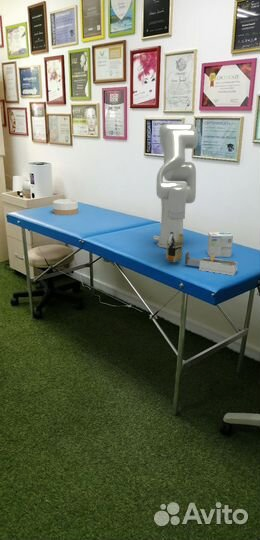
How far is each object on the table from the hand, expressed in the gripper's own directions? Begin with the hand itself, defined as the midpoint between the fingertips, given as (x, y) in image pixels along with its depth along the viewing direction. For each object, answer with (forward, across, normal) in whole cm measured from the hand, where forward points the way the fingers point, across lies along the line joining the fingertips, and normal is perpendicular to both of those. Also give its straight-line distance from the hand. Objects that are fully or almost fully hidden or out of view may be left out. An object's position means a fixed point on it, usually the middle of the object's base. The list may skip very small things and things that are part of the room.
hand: (174, 252), depth 182 cm
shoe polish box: (+3, 0, 0) cm, 3 cm away
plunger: (+3, +1, +12) cm, 13 cm away
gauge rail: (+4, +1, +20) cm, 21 cm away
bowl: (+10, -70, -103) cm, 125 cm away
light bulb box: (+6, -21, +16) cm, 27 cm away
